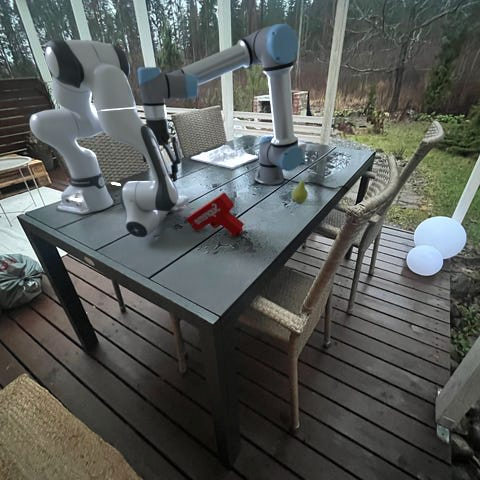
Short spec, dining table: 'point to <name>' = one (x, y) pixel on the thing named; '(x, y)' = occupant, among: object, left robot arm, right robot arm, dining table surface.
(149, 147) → the left robot arm
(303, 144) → the ink box
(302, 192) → the fruit
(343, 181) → the dining table surface
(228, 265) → the dining table surface
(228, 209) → the toy gun
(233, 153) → the relief map
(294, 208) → the dining table surface
